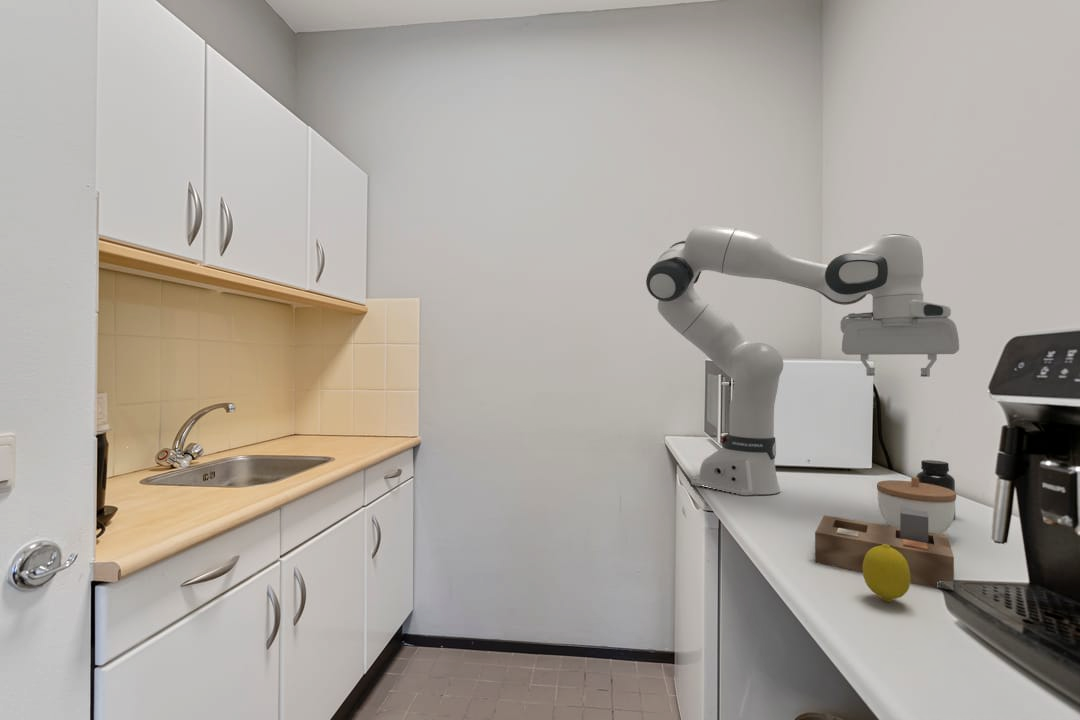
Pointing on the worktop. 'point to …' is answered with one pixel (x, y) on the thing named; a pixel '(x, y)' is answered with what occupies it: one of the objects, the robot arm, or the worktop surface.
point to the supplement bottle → (936, 474)
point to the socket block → (854, 539)
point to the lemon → (886, 572)
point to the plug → (914, 525)
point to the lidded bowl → (917, 502)
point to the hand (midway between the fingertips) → (897, 376)
